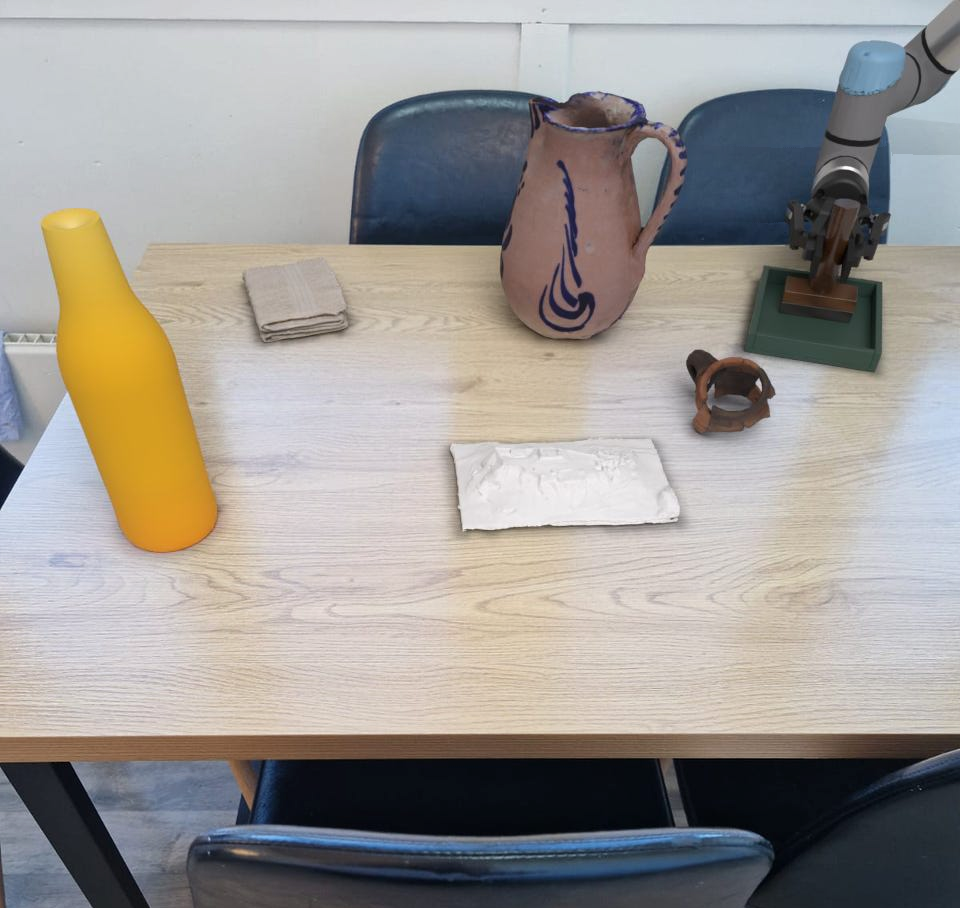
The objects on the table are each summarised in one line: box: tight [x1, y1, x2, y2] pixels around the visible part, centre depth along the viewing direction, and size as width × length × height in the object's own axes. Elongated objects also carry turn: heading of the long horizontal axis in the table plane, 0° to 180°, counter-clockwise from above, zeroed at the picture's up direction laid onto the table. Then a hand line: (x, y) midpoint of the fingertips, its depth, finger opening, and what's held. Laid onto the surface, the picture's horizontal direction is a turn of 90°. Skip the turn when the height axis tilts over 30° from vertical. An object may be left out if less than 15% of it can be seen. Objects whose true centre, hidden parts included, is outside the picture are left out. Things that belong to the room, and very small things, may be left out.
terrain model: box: [449, 436, 681, 533], centre depth 88 cm, size 17×23×5 cm
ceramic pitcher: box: [499, 90, 688, 340], centre depth 102 cm, size 18×21×25 cm
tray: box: [744, 265, 883, 373], centre depth 111 cm, size 16×20×2 cm
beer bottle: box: [40, 207, 218, 553], centre depth 74 cm, size 9×9×29 cm
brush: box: [779, 199, 860, 323], centre depth 109 cm, size 9×4×14 cm, turn 72°
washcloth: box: [241, 257, 349, 343], centre depth 113 cm, size 12×18×3 cm, turn 19°
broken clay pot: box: [685, 349, 776, 434], centre depth 96 cm, size 12×10×8 cm
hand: (830, 269), depth 105 cm, fingers closed on brush, 3 cm apart
